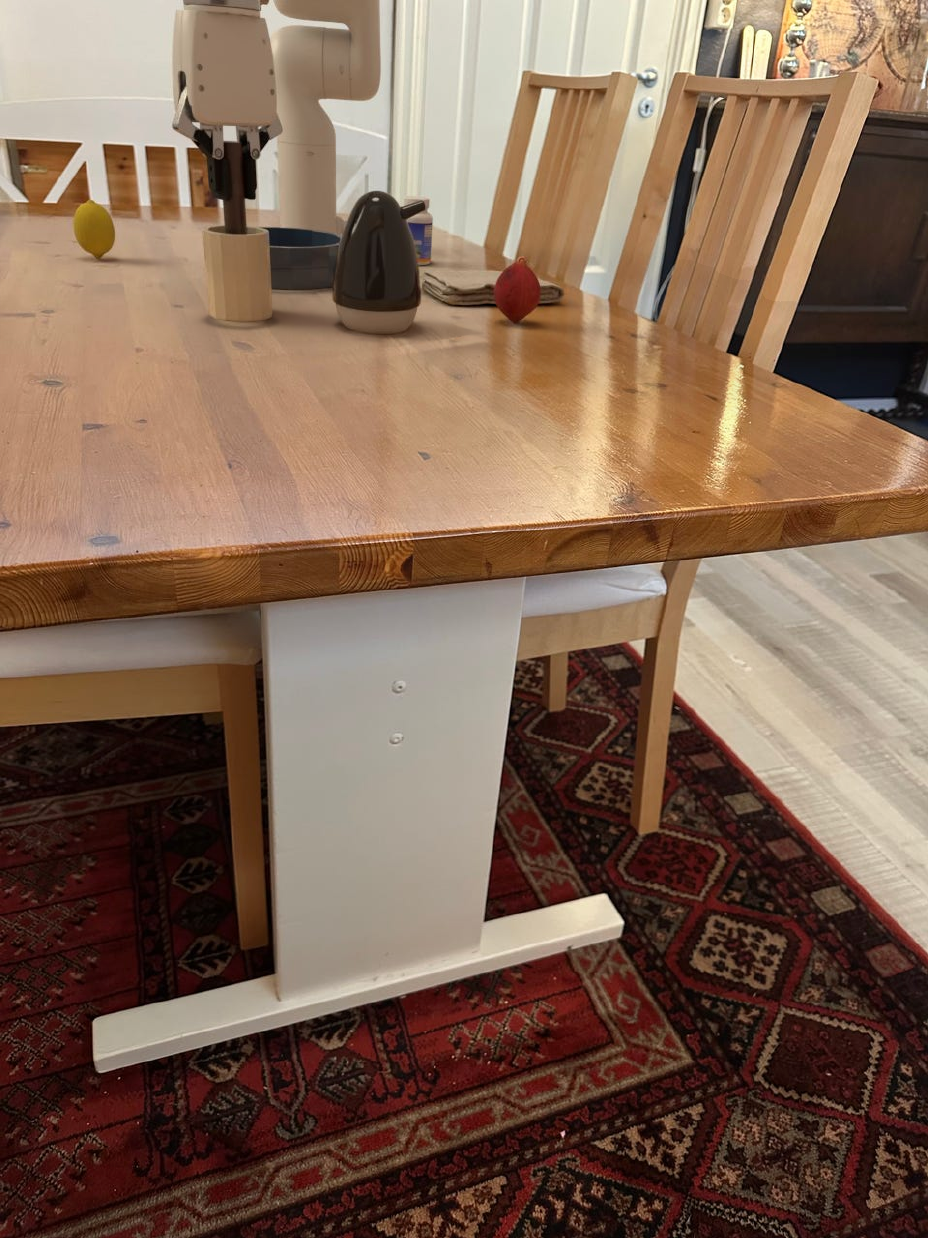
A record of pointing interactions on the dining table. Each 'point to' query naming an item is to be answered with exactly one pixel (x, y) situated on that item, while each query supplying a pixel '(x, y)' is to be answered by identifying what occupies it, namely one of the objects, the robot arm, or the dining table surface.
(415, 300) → the pump dispenser
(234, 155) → the stick
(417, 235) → the pill bottle
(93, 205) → the lemon
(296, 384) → the dining table surface
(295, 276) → the bowl
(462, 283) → the washcloth
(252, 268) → the crock
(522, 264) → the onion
